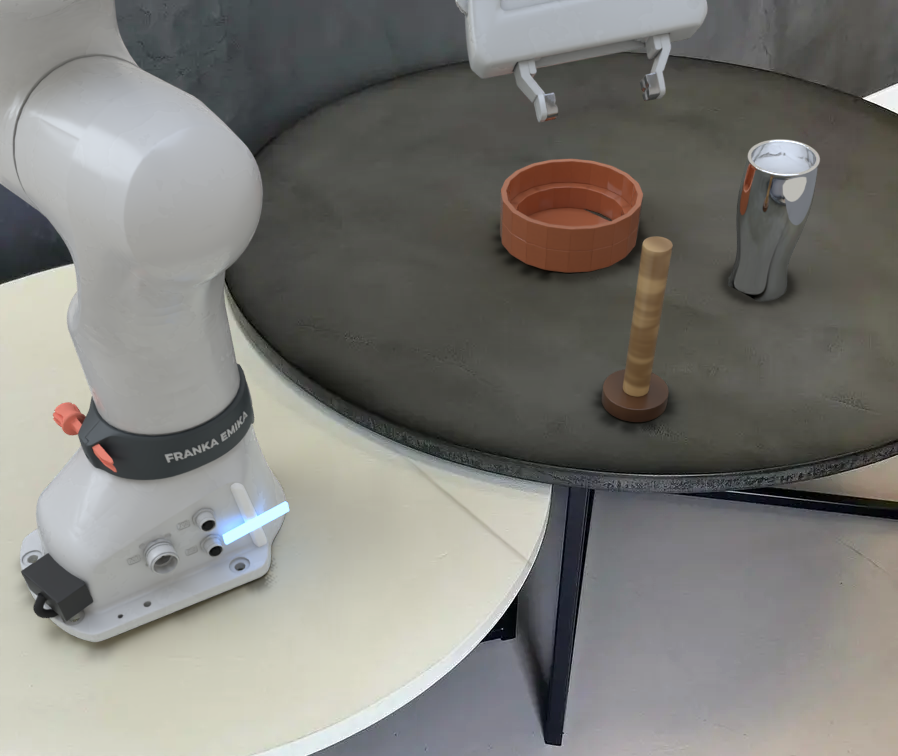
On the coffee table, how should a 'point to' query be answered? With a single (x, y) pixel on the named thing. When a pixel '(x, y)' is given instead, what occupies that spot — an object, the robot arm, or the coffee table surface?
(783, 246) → the beer glass
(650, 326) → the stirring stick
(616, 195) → the bowl
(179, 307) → the robot arm
